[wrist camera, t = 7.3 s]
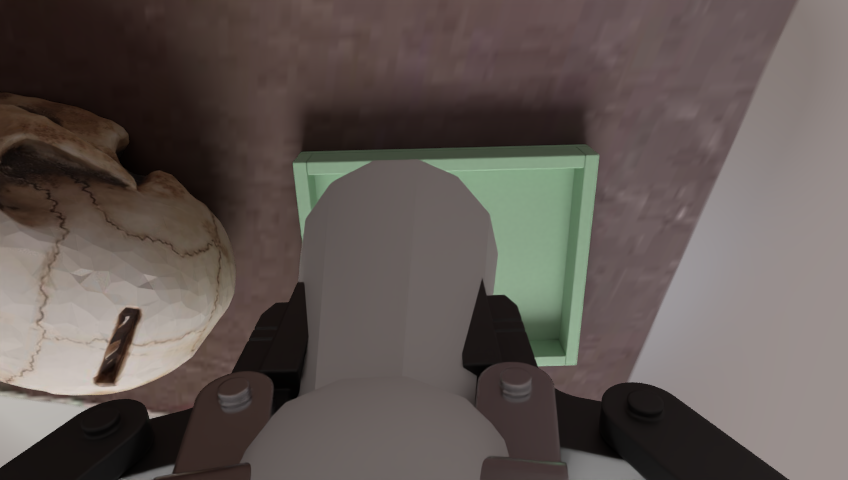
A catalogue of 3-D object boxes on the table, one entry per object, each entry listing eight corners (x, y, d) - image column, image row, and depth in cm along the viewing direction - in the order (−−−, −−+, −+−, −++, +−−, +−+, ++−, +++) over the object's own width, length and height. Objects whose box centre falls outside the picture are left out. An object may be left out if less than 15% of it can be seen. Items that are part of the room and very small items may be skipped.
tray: (323, 350, 39) (317, 372, 36) (300, 151, 33) (292, 162, 31) (566, 343, 39) (576, 365, 36) (586, 144, 33) (599, 154, 31)
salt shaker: (465, 313, 20) (538, 793, 8) (307, 286, 19) (117, 754, 7) (505, 158, 17) (702, 491, 5) (328, 124, 17) (103, 404, 5)
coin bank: (-93, 100, 31) (-370, 167, 19) (211, 68, 32) (132, 112, 20) (18, 325, 38) (-136, 480, 26) (266, 290, 39) (230, 422, 27)
